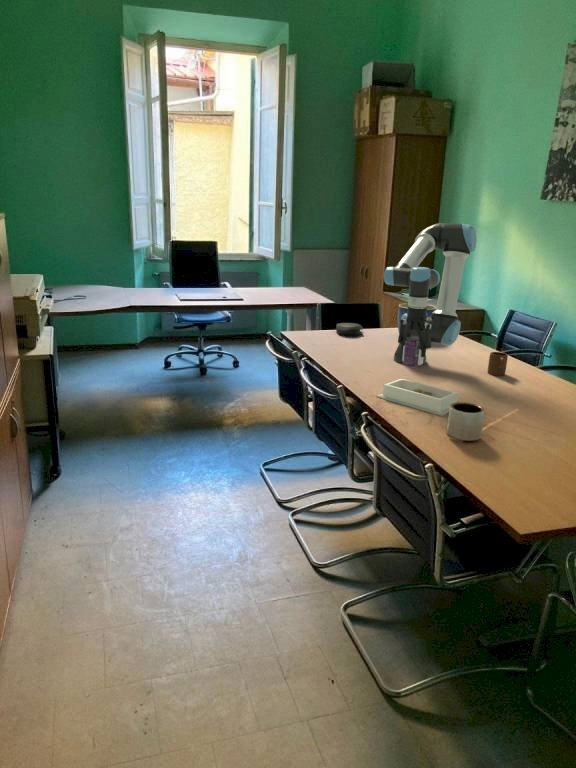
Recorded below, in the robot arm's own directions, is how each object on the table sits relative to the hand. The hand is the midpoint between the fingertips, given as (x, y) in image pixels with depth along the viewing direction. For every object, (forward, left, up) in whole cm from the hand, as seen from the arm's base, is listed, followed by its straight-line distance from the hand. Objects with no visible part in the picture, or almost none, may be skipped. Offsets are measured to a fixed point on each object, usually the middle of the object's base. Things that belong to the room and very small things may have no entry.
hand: (412, 362), depth 235 cm
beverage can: (0, 0, -2) cm, 2 cm away
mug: (+19, +43, -10) cm, 47 cm away
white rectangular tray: (+14, -17, -9) cm, 24 cm away
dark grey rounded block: (-74, +54, -10) cm, 92 cm away
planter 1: (-45, +76, -10) cm, 89 cm away
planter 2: (+42, -36, -10) cm, 56 cm away
